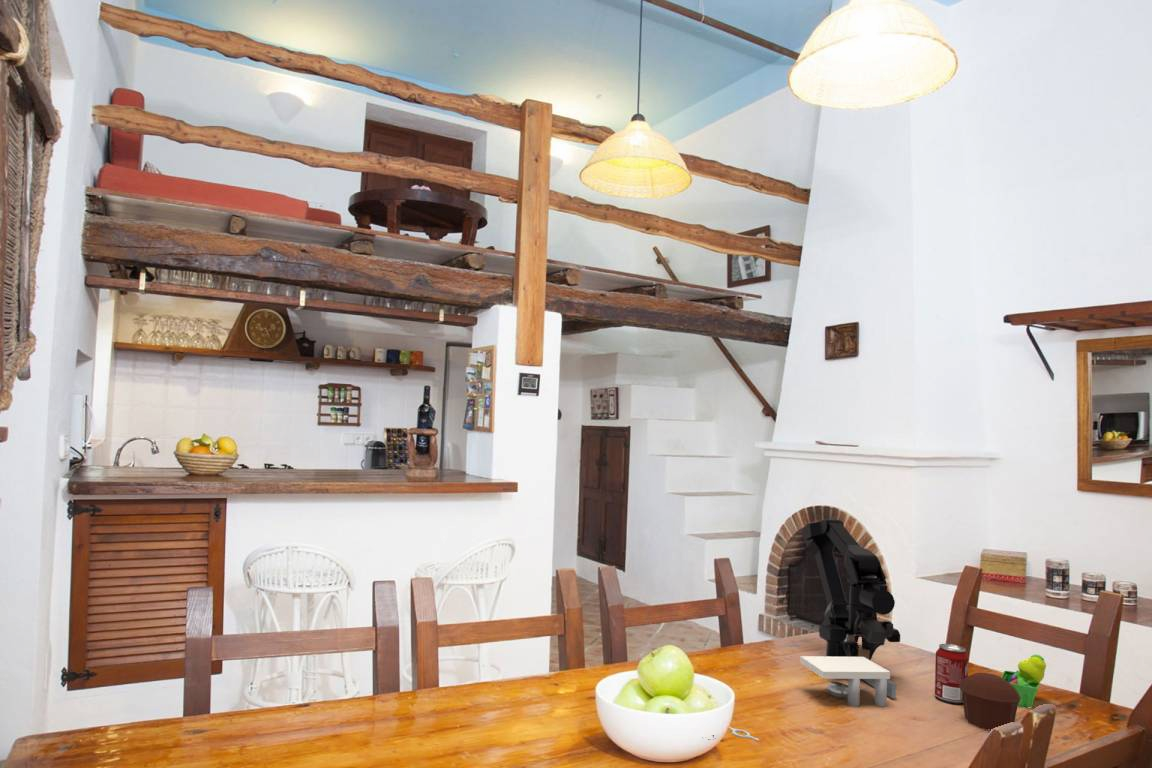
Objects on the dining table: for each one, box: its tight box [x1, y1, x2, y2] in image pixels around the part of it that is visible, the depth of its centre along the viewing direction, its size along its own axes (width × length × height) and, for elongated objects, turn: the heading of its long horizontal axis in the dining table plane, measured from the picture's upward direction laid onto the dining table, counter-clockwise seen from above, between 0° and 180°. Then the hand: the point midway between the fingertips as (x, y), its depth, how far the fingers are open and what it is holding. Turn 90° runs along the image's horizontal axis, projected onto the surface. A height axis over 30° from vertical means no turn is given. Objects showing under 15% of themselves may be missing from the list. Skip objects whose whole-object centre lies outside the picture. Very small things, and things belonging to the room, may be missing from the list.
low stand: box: [799, 655, 891, 708], centre depth 174 cm, size 11×16×8 cm
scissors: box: [728, 726, 760, 742], centre depth 154 cm, size 11×1×20 cm
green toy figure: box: [1000, 654, 1047, 708], centre depth 179 cm, size 11×9×11 cm
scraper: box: [855, 644, 897, 699], centre depth 183 cm, size 17×3×7 cm, turn 10°
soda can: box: [934, 643, 969, 705], centre depth 177 cm, size 7×7×12 cm
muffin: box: [959, 672, 1021, 731], centre depth 163 cm, size 12×11×10 cm
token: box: [826, 680, 848, 699], centre depth 176 cm, size 5×5×2 cm
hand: (858, 668), depth 189 cm, fingers closed on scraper, 3 cm apart
